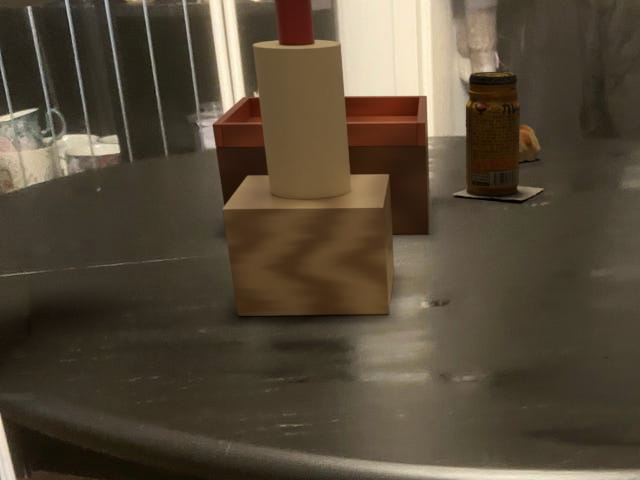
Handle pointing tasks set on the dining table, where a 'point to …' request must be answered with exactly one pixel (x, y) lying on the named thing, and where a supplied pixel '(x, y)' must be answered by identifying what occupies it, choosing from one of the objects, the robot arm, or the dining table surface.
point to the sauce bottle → (302, 108)
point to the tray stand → (363, 144)
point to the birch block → (311, 250)
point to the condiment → (493, 138)
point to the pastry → (528, 144)
